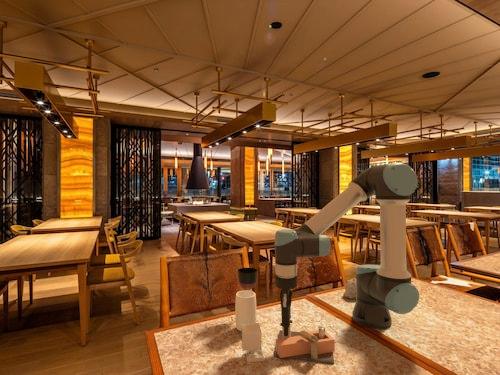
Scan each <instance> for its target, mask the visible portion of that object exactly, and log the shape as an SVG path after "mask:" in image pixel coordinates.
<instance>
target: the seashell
mask: <svg viewBox="0 0 500 375" xmlns="http://www.w3.org/2000/svg"><path fill="white" fill-rule="evenodd" d="M343 285H344V290H345V292H344V293H343V297H344V298H346V299H350V300H355V301H356V300H357V291H356V277H353V278H351V279H348V280H346V283H345V284H343Z"/></svg>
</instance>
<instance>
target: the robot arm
mask: <svg viewBox="0 0 500 375" xmlns="http://www.w3.org/2000/svg"><path fill="white" fill-rule="evenodd" d="M418 182H419V179H418V175H417V173H416V171H415V170H414V169H413V168H412V167H411V166H410V165H409V164H406V163H402V162H392V163H386V164H385V163H384V164H380V165H373V166H370V167H368V168H367V169H365V170H363V171H362V172H361V173H360V174H358V175H357V176H356V177H355V178H353V179H352V180H351V181H350V182H348V185H347V187H346V188H345V189H344V190H342V191H341V192H340V193H339V194H338V195H337V196H335V198H333V199H331V201H330V202H328V203H327V204H326V205H325V206H324V207H322V209H320V210H319V211H318V212H316V213H315V214H314V215H313V216H311V218H309V219H308V220H306V222H304V223H303V224H302V225H301V226H299V227H298V228H297V227H296V228H292V229H279V230H277V231H276V232H275V234H274V243H273V245H274V260H275V261H274V264H273V268H274V271H275V273H274V274H275V276H274V280H275V281H274V282H275V283H274V285H275V287H276V288H277V289H280V292H279V299H280V310H281V314H280V315H281V322H280V326H281V327H282V338H287V337H291V331H292V330H291V324H293V319H292V320H291V318H292V316H291V314H292V313H291V311H292V309H291V305H292V301H293V300H292V297H293V290H294V289H296V288H297V286H298V276H297V275H298V261H297V260H298V258H317V257H318V258H320V257H321V258H322V257H326V256H328V255H330V253H331V249H332V248H331V247H332V244H331V241H330V238H329V237H328V235H326V234H324V232H326V231H327V230H328V229H330V228H331V227H332V226H333V225H334V224H336V222H337V221H339V220H340V219H341V218H342V217H344V216H345V215H346V214H347V213H348V212H350V210H352V209H353V208H355V207H356V206H357V205H358V204H359V203H360V202H365V201H367V200H368V199H369V198H370V197H373V196H375V202H377V203H378V205H379V231H380V232H379V233H380V235H379V236H380V237H379V238H380V239H379V240H380V242H379V244H380V249H379V250H380V253H379V254H380V264H360V265H358V266H357V267H356V271H355V279H356V291H357V300H355V304H354V306H353V310H352V316H351V317H352V320H353V322H355V323H356V324H358V325H360V326H362V327H365V328H369V329H373V330H383V329H388V328H390V327H392V325H393V324H392V323H393V322H392V321H393V319H392V316H391V312H393V313H396V314H398V315H406V314H409V313H411V312H413V310H414V309H415V308H416V307H417V305H418V303H419V301H420V292H419V289H418V288H417V287H416V286H415V285H414V284H412V274H411V273H410V271H408V269H407V220H406V219H407V217H406V216H407V212H406V210H407V208H406V207H407V204H408V203H409V202H410V201H411V195H412V194H413V193H414V192H415V190H416V189H417V187H418V184H419V183H418ZM390 311H391V312H390Z"/></svg>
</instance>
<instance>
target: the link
mask: <svg viewBox="0 0 500 375" xmlns="http://www.w3.org/2000/svg"><path fill="white" fill-rule="evenodd" d="M307 333H309V334H311V335H313V336H317V338H318V342H317V354H323V353H329V352H333V353H334V352H335V351H336V350H335V346H336V345H335V339H334V337H332V335H331V334H330V333H328V332H327V331H326V330H325V339H321V340H319V337H318V330H316V331H315V330H314V331H308V332H307ZM275 349H276V352H277V354H278V355H279V357H280V358H279V359H284V358H283V357H289V356H295V355H301V354H307V353H311V342H310V341H308V340H306V339H304V338H303V337H301V336H294V337H287V338H280V339H278V338H276V339H275Z"/></svg>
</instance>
